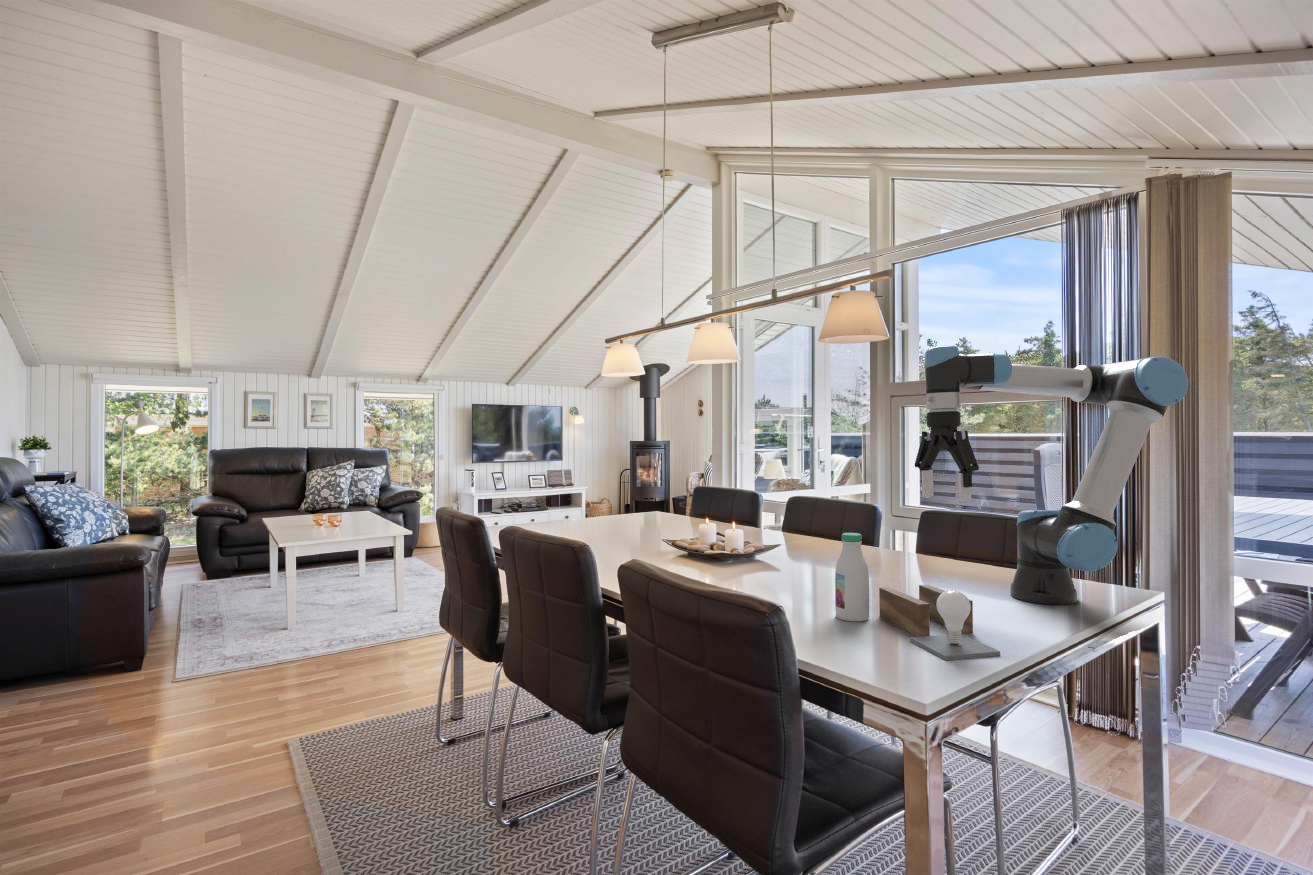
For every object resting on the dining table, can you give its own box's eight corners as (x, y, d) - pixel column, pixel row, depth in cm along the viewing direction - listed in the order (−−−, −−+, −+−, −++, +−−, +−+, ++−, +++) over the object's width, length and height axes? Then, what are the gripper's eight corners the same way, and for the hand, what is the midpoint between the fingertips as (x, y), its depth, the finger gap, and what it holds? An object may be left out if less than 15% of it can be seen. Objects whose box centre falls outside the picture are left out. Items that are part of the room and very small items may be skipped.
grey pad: (960, 636, 141) (960, 633, 141) (1000, 655, 130) (1000, 651, 130) (909, 641, 139) (909, 637, 139) (945, 660, 127) (945, 656, 127)
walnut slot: (928, 613, 160) (928, 584, 160) (972, 632, 144) (972, 600, 144) (879, 616, 157) (879, 587, 157) (919, 637, 142) (918, 604, 142)
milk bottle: (871, 615, 159) (870, 532, 159) (867, 623, 152) (866, 536, 152) (838, 612, 162) (837, 530, 162) (832, 620, 155) (832, 535, 155)
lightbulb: (975, 650, 130) (973, 594, 130) (941, 649, 132) (939, 593, 131) (967, 639, 136) (965, 586, 136) (934, 639, 138) (932, 586, 138)
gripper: (898, 413, 171) (901, 495, 171) (965, 409, 147) (968, 504, 147) (924, 412, 173) (926, 493, 173) (994, 408, 148) (997, 502, 149)
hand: (945, 498), depth 160 cm, fingers open, 13 cm apart
